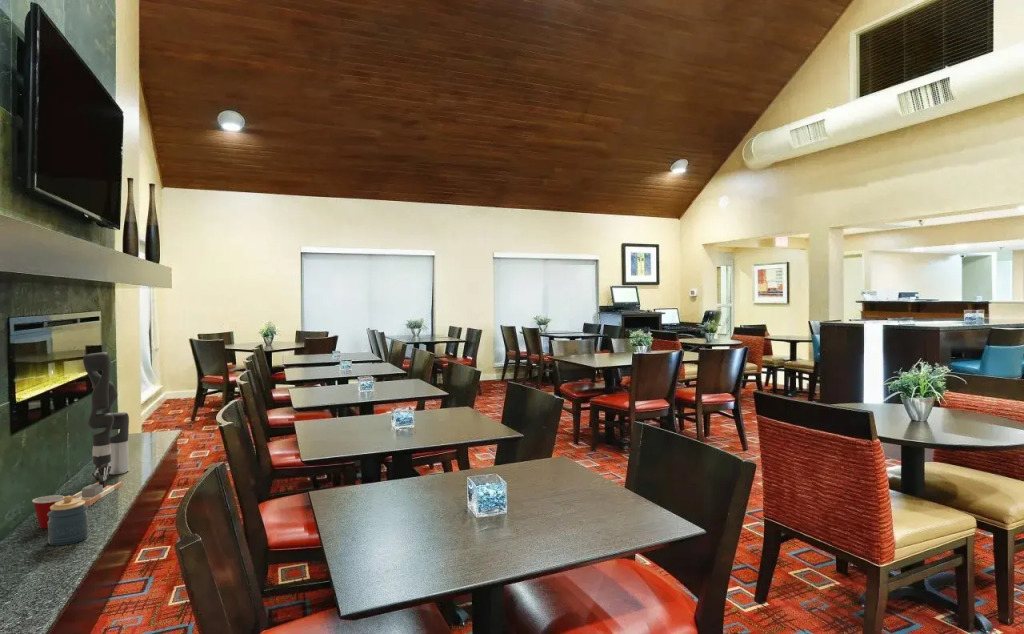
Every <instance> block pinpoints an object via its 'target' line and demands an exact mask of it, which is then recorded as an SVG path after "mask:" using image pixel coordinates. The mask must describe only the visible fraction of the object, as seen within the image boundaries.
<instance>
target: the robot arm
mask: <svg viewBox="0 0 1024 634" xmlns="http://www.w3.org/2000/svg"><path fill="white" fill-rule="evenodd" d="M111 359H112V358H111V356H110V354H109V353H108V352H105V351H102V352H96V353H95V352H94V353H88V354H85V355H84V356H83V358H82V362H83V366H84V369H85V371H86V373H87V376H88V377H89V379H90V382H91V386H92V388H93V390H92V393H91V409H90V410H91V411H90V415H89V417H88V420H87V425H88V427H89V428H90V429H93V430H94V429H95V430H96V429H103V430H101V431H99V432H97V433H96V432H95V433H94V434H93V435H92V452H91V453H92V465H93V466H95V469H94V470H95V472H93V473H91V474H92V476H93V478H94V480H95V482H99V485H103V488H105V487H106V486H107V484H106V483H107V482H106V480H107V479H108V478H109V476H110V475H119V474H125V473H128V472H129V468H130V465H129V463H130V461H129V454H130V453H129V429H130V428H129V427H130V425H129V424H130V417H129V414H128V413H127V412H112V407H113V406H114V403H116V401H117V399H118V392H117V389H116V386H115V384H114V383H113V382H112V381H110V380H111V379H110V378H111V368H112V360H111ZM100 371H102V373H101V374H100V373H99V372H100ZM99 412H101V413H99ZM113 430H119V432H118V433H115V434H113V435H111V433H112V432H111V431H113ZM127 471H128V472H127Z"/></svg>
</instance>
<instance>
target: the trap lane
mask: <svg viewBox="0 0 1024 634" xmlns="http://www.w3.org/2000/svg"><path fill="white" fill-rule="evenodd" d="M92 485H99V481H96V483H94V484H92ZM123 485H124V484H123V481H119V482H117V483H116V484H114V485H106V487H105V488H103V492H101V493H100V494H98V495H96V496H94V497H82V490H80V491H79V492H77V493H75V494H73V495H70V496H71V497H72V498H79V499H81V500H84V501H85V505H87V506H88V507H91V506H92V505H94V504H95V503H97V502H98V501H99V500H100V499H102V498H103V497H105V496H107V495H109V494H110V493H112V492H113V491H115V490H117V489H118V488H120V487H122V486H123ZM96 501H97V502H96ZM93 503H94V504H93Z"/></svg>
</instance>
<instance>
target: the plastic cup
mask: <svg viewBox="0 0 1024 634" xmlns="http://www.w3.org/2000/svg"><path fill="white" fill-rule="evenodd" d="M65 497H66V496H64V495H57V494H56V495H55V494H54V495H45V496H40V497H36V498H33V499H32V500H31V501H32V503H33V505H34V510H35V513H36V518H37V521H38V525H39V528H40V527H41V528H40V529H48V523H47V522H48V521H49V516H48V515H47V513H48V512H49V511H51V509H50V507H51V506H52V505H54V504H55V503H56V502H58V501H61V500H64V498H65Z"/></svg>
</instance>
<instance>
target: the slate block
mask: <svg viewBox="0 0 1024 634" xmlns="http://www.w3.org/2000/svg"><path fill="white" fill-rule="evenodd" d="M81 491H82V497H94V496H96V495H98V494H100V493H101V492H103V485H93V484H89V485H87V486H84V487H82V488H81Z"/></svg>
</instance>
